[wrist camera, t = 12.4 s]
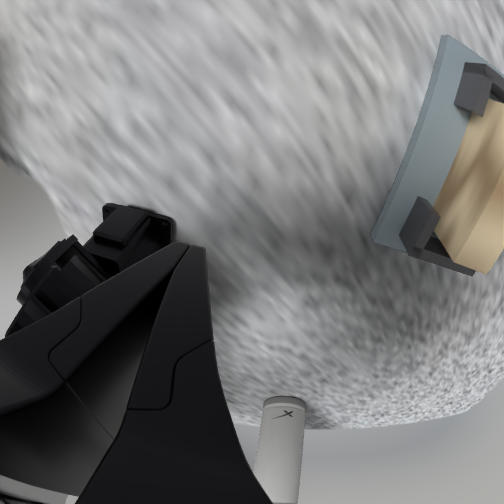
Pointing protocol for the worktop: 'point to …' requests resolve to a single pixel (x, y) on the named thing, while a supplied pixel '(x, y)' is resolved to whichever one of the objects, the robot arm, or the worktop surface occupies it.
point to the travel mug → (281, 449)
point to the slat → (475, 194)
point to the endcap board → (436, 152)
